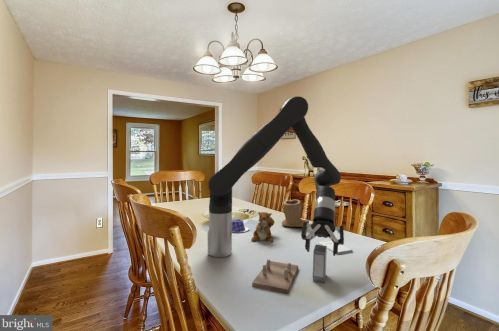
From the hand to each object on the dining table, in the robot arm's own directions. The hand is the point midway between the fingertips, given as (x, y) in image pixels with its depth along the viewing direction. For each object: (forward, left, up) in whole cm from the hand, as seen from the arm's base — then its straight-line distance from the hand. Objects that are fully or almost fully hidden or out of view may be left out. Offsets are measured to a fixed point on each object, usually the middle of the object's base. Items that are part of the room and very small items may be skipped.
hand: (320, 252), depth 84 cm
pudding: (-36, +46, -8) cm, 59 cm away
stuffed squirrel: (-21, +35, -8) cm, 41 cm away
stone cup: (-5, +56, -8) cm, 57 cm away
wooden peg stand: (-15, -3, -8) cm, 17 cm away
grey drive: (-1, -2, -8) cm, 8 cm away
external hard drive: (+10, +26, -9) cm, 29 cm away
